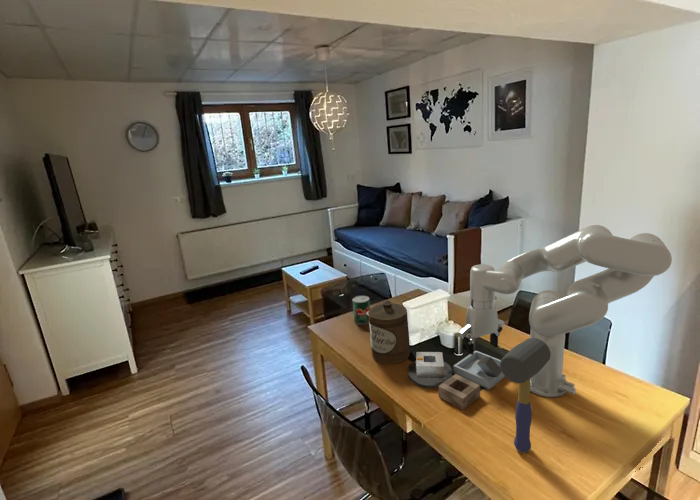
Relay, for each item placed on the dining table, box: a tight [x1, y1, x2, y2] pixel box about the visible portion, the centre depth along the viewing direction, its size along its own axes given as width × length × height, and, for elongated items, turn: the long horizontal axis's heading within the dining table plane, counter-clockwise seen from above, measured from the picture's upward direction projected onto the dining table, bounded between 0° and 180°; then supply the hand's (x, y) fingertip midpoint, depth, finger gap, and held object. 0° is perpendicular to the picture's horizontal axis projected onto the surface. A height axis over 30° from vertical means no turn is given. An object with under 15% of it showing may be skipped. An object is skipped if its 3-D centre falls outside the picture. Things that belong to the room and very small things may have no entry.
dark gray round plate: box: [407, 360, 453, 389], centre depth 134 cm, size 15×15×2 cm
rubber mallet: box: [500, 337, 551, 454], centre depth 96 cm, size 12×8×30 cm, turn 130°
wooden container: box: [368, 300, 411, 365], centre depth 147 cm, size 15×15×22 cm
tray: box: [452, 350, 506, 391], centre depth 133 cm, size 14×14×3 cm
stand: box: [437, 374, 481, 411], centre depth 122 cm, size 9×9×4 cm
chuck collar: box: [415, 351, 444, 377], centre depth 133 cm, size 9×9×4 cm
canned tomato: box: [352, 295, 371, 326], centre depth 179 cm, size 8×8×11 cm
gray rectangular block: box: [472, 356, 502, 377], centre depth 128 cm, size 6×3×10 cm
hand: (482, 349), depth 131 cm, fingers open, 9 cm apart
